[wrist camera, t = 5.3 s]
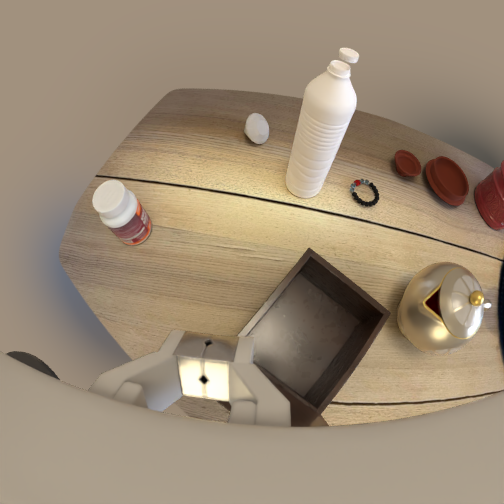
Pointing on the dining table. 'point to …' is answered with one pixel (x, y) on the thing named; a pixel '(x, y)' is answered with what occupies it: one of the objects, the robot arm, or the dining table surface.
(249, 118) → the gemstone
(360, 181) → the bracelet
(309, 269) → the chest
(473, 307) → the teapot
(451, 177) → the pottery
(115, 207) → the pill bottle
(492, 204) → the kitchen canister
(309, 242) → the dining table surface
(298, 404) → the lid
